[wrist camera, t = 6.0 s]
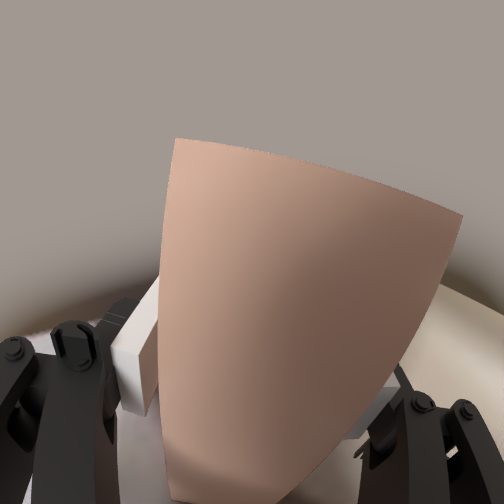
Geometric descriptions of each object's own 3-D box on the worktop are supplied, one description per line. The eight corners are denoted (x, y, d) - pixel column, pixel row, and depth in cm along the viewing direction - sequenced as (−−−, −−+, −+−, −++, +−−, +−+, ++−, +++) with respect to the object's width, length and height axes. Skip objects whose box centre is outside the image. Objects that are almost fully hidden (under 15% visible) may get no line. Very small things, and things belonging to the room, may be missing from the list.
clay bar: (185, 431, 12) (220, 146, 7) (265, 443, 12) (366, 181, 8) (171, 499, 8) (176, 137, 3) (266, 510, 8) (463, 215, 3)
